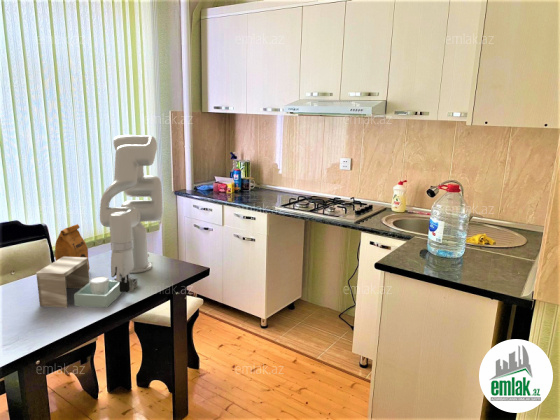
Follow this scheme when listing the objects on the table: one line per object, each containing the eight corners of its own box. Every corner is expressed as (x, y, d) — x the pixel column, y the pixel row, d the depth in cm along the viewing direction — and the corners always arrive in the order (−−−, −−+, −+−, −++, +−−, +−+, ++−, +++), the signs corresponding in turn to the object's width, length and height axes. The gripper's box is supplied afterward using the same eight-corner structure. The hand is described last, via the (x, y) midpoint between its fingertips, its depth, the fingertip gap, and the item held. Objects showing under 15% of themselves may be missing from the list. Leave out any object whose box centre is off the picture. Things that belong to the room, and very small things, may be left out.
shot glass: (86, 299, 154) (85, 281, 153) (98, 291, 161) (96, 275, 159) (102, 301, 153) (101, 284, 151) (113, 293, 159) (112, 277, 158)
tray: (93, 289, 164) (93, 279, 163) (123, 291, 163) (122, 280, 162) (74, 305, 150) (73, 294, 149) (106, 307, 150) (106, 296, 149)
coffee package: (93, 271, 182) (90, 224, 177) (74, 282, 170) (70, 231, 165) (74, 269, 184) (69, 222, 179) (53, 280, 172) (48, 229, 167)
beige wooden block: (66, 286, 166) (63, 256, 163) (90, 288, 165) (87, 257, 162) (39, 305, 149) (36, 272, 146) (66, 307, 149) (63, 273, 146)
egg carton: (106, 290, 165) (105, 280, 164) (117, 283, 172) (116, 273, 171) (130, 293, 162) (129, 283, 162) (140, 285, 170) (140, 276, 169)
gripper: (120, 238, 159) (123, 282, 163) (102, 251, 144) (106, 299, 148) (139, 239, 158) (142, 283, 163) (123, 252, 144) (126, 300, 148)
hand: (124, 291), depth 155 cm, fingers closed
